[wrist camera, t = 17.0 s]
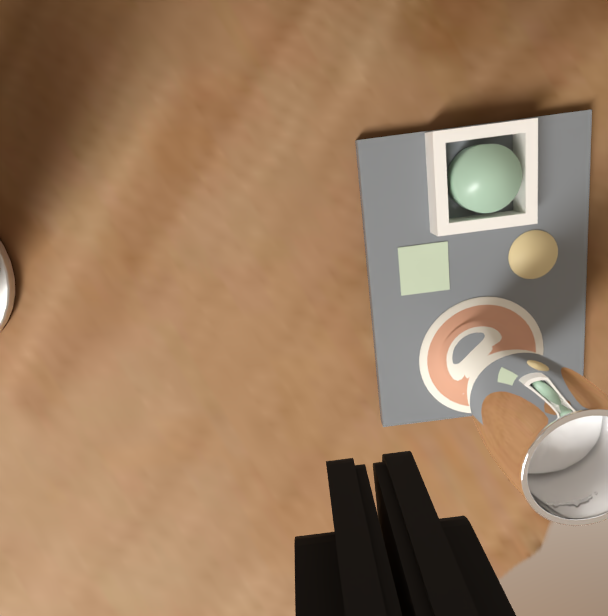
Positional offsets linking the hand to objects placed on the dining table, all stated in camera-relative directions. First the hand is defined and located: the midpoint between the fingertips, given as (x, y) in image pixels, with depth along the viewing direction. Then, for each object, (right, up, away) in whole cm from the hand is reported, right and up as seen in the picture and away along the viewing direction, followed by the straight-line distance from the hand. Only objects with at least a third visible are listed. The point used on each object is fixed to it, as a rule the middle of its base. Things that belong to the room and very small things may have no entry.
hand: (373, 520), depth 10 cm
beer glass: (+12, 0, +30) cm, 32 cm away
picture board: (+11, +6, +29) cm, 32 cm away
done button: (+11, +13, +25) cm, 30 cm away
